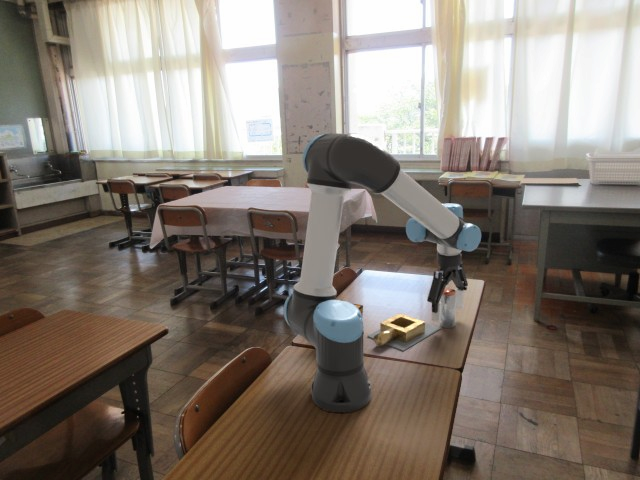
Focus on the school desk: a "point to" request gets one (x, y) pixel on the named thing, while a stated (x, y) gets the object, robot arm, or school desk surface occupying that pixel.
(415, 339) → the mat
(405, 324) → the fitting socket
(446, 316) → the copper-capped silver cylinder
